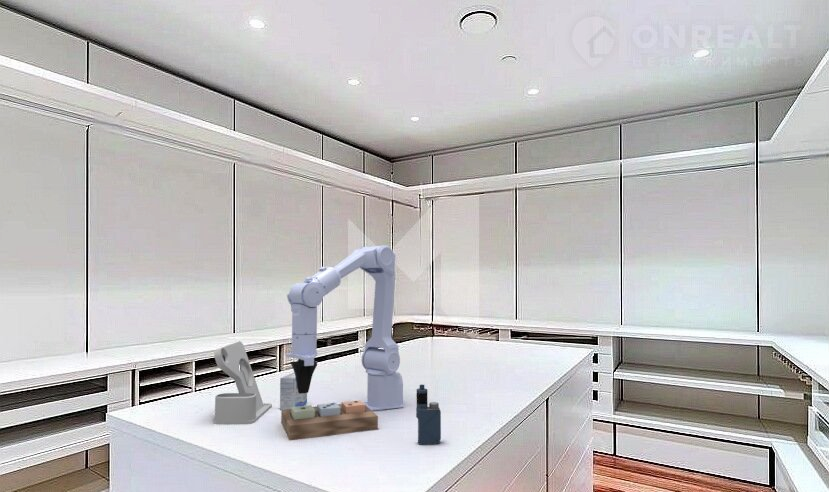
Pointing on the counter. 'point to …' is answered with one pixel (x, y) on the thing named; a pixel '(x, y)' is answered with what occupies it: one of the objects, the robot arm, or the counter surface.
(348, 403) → the tile
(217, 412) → the phone holder
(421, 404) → the vaping device
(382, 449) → the counter surface
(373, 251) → the robot arm
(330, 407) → the tile
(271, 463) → the counter surface
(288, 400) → the medicine box
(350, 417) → the block tray
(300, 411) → the tile
